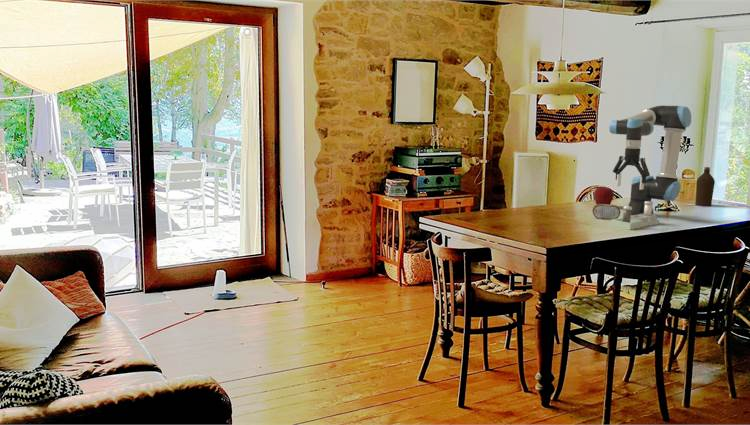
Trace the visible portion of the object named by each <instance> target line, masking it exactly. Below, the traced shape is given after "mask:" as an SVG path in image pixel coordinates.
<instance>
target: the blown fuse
mask: <svg viewBox="0 0 750 425" xmlns="http://www.w3.org/2000/svg"><path fill="white" fill-rule="evenodd" d="M622 209H623V217H622V218H623V222H628V223H631V222H630V219H631V216H632V215H631V210H632V207H631V206H628V205H624V206H623V208H622Z"/></svg>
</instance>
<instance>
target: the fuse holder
mask: <svg viewBox="0 0 750 425" xmlns="http://www.w3.org/2000/svg"><path fill="white" fill-rule="evenodd" d="M631 219H634V220H640V221H643V226H644V227H649V226H654V225H655V226H656V225H659V224H660V219H658V215H657V214H653V215H652V214H651V216H645V215H644V214H638V215H631ZM648 225H649V226H648Z"/></svg>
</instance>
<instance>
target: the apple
mask: <svg viewBox="0 0 750 425" xmlns="http://www.w3.org/2000/svg"><path fill="white" fill-rule="evenodd" d="M614 194H615V193H614V191H613V189H612V188H610V187H605V186H600V187H596V189H595V190H594V192H593V195H594V201H595V205H597V204H609V205H612V202H613V199H614Z"/></svg>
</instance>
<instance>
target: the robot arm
mask: <svg viewBox="0 0 750 425" xmlns="http://www.w3.org/2000/svg"><path fill="white" fill-rule="evenodd" d="M691 124H692V113H691V110H690V108H688V107H687V106H683V105H664V104H663V105H657V106H652V107H650V108H647V109H644V110H642V111H641V112H640V113H637V114H635V115H632V116H630V117H629V116H628V117H627V118H624V119H619V120H618V119H616V120H611V121H610V122H609V128H608V130H609V133H611V134H613V135H626V137H625V150H624V155H620V156H619V157H618V161H617V163H616V164H615V166H614V168H613V170H612V173H615V181H616V183H615V184H616V187H621V185H622V184H621V182H622V172H623V170H625V168H626V167H627V166H630V167H633V166H634V167H635V168H636V169H637V171H638V173H639V174H640V176H638V175H637V176H634V177H632V179H631V185H630V200H629V203H628V205H627V206H631V207H632V210H631V216H632V215H638V214H644V207H645V204H644V203H645V201H652V200H659V201H668V202H669V201H670V202H672V201H673V202H674V201H675V200H676V199H677V198H678V196H679V195H680V192H681V187H682V186H681V182H680V181H679V179H678V176H677V175H676V174H677V168H678V164H679V163H678V161H679V156H680V155H679V154H680V148H681V143H682V137H683V133H684V132H686V129H687V128H689V127H690V126H691ZM655 126H660V127H662V126H663V130H664V131H665V136H664V143H663V149H662V155H661V162H660V169H659V173H658V174H657V175H656V176H653V175H651V174H650V171H649V168H648V166H647V163H646V158H645V157H640V156H641V146H642V137H644V136H645V137H646V136H650V135H652V133H654V127H655ZM654 177H655V178H654ZM651 214H652V215H654V210H653V207H652V212H651Z"/></svg>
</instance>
